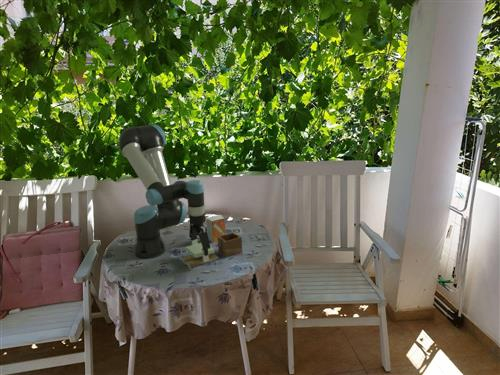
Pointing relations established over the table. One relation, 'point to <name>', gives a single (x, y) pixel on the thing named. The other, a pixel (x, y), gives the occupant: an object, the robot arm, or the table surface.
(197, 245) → the lid
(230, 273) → the table surface
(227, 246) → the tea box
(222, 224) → the small box
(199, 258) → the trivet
